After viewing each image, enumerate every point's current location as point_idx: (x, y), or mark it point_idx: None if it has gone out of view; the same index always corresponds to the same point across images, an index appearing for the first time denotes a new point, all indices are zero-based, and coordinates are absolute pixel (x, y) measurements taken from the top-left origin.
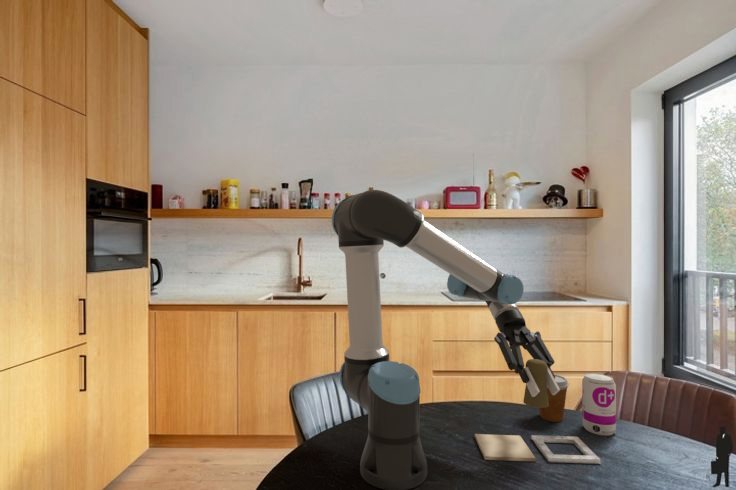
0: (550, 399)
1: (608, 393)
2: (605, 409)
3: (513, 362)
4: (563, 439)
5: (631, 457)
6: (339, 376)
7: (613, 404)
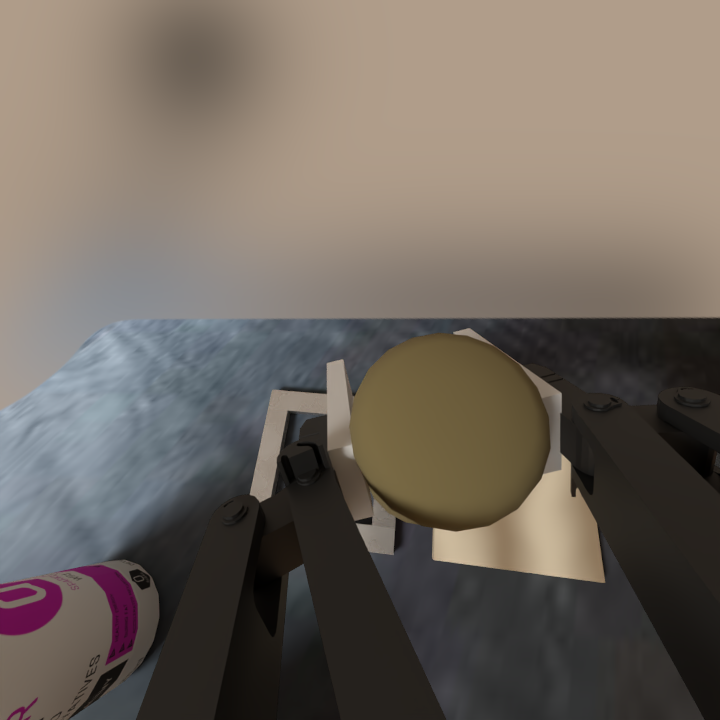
0: None
1: None
2: (52, 578)
3: (714, 399)
4: None
5: (172, 423)
6: None
7: None
